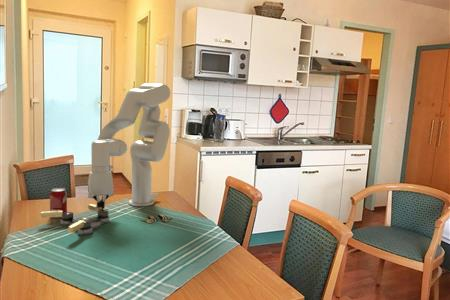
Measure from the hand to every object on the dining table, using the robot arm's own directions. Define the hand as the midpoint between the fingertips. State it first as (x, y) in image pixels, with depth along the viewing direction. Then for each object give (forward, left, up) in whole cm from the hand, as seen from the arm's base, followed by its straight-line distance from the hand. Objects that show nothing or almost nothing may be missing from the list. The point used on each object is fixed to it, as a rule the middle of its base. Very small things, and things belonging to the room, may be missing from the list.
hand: (100, 209), depth 168 cm
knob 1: (+18, +15, -1) cm, 24 cm away
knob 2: (+3, +2, -1) cm, 4 cm away
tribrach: (+9, +6, -3) cm, 11 cm away
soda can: (+13, -13, -3) cm, 18 cm away
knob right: (+18, -3, -1) cm, 19 cm away
